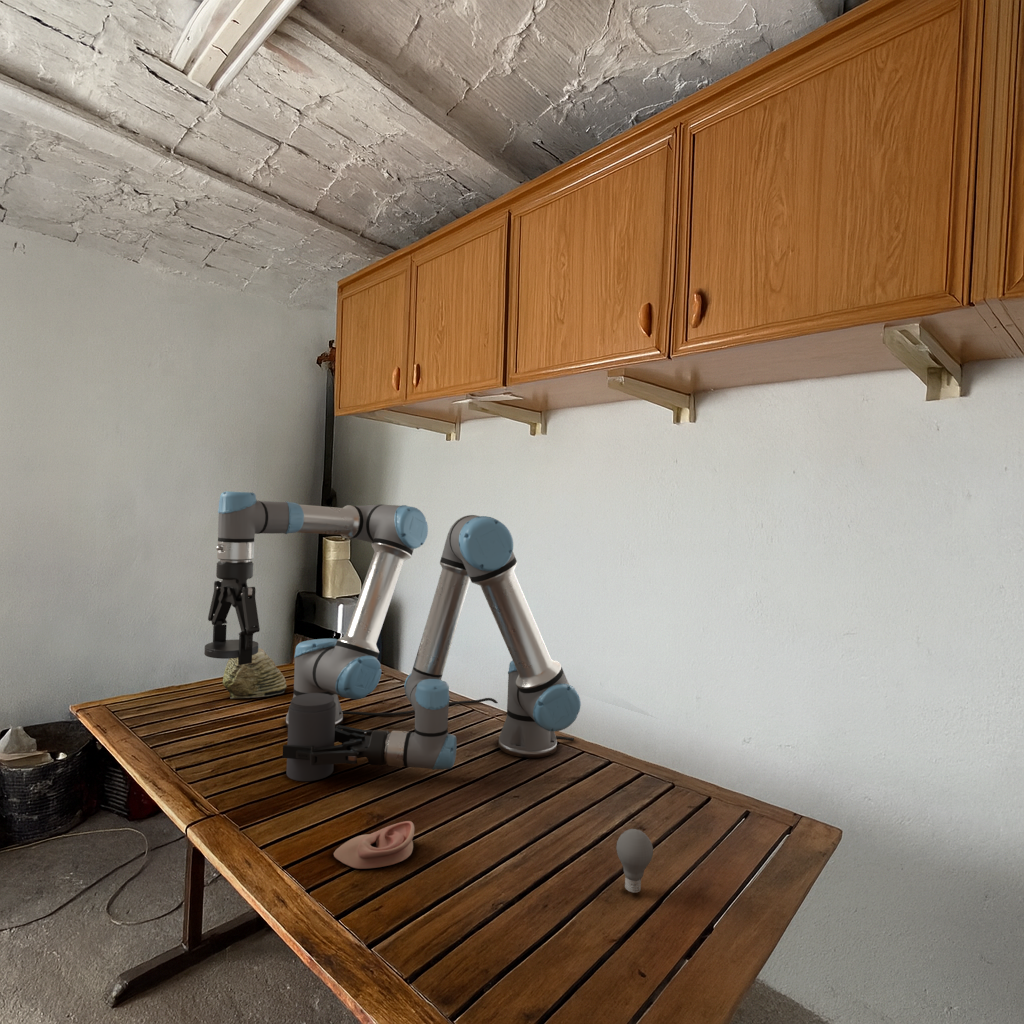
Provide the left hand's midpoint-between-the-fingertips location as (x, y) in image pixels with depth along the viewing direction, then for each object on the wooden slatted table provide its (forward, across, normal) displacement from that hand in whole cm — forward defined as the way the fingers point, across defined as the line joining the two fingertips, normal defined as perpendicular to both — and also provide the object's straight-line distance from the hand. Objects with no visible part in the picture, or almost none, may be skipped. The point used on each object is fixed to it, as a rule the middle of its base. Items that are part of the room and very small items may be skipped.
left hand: (231, 658), depth 142 cm
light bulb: (+26, +88, +25) cm, 95 cm away
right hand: (+20, +8, +11) cm, 24 cm away
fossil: (+26, -48, +33) cm, 64 cm away
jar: (+26, +11, +14) cm, 32 cm away
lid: (-3, 0, 0) cm, 3 cm away
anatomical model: (+26, +48, +3) cm, 55 cm away
